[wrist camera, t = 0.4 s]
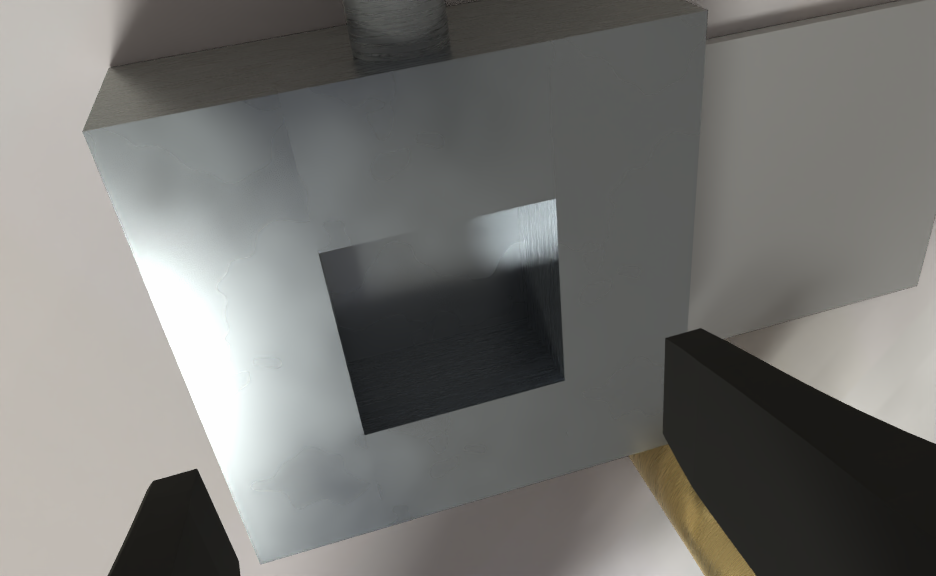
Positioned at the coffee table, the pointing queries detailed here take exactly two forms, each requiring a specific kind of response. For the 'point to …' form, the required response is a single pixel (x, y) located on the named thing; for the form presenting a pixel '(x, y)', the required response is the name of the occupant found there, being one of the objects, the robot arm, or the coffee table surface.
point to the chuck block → (415, 247)
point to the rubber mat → (814, 166)
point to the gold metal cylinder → (689, 514)
